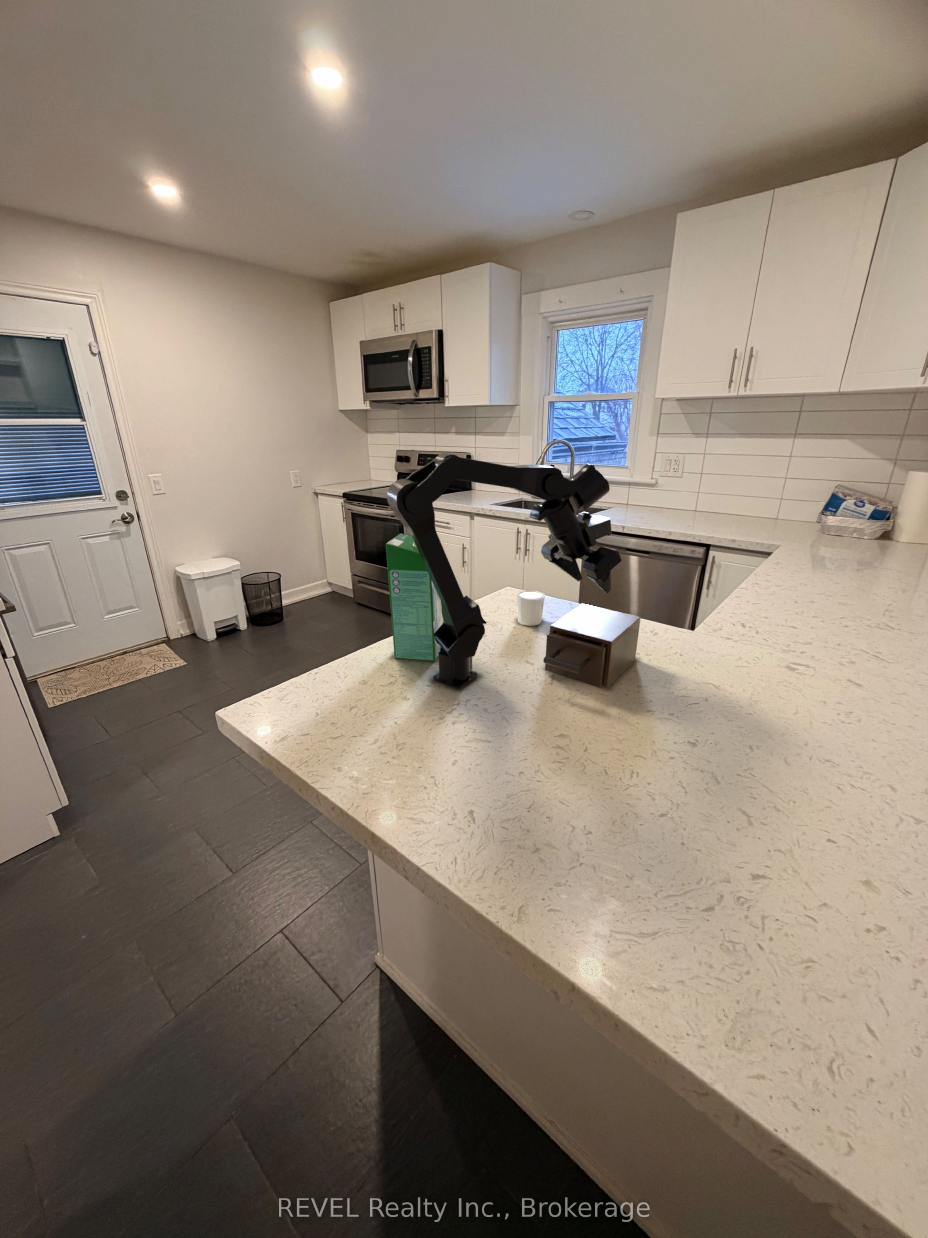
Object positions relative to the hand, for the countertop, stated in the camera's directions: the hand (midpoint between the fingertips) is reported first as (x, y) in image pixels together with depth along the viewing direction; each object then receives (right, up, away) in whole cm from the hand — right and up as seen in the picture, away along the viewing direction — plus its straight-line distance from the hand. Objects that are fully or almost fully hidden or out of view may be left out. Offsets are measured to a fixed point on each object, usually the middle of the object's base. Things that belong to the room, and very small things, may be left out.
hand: (593, 585), depth 102 cm
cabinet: (0, -16, -1) cm, 16 cm away
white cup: (-10, -8, +21) cm, 24 cm away
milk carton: (-36, -14, +7) cm, 39 cm away
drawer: (-4, -17, -5) cm, 18 cm away
